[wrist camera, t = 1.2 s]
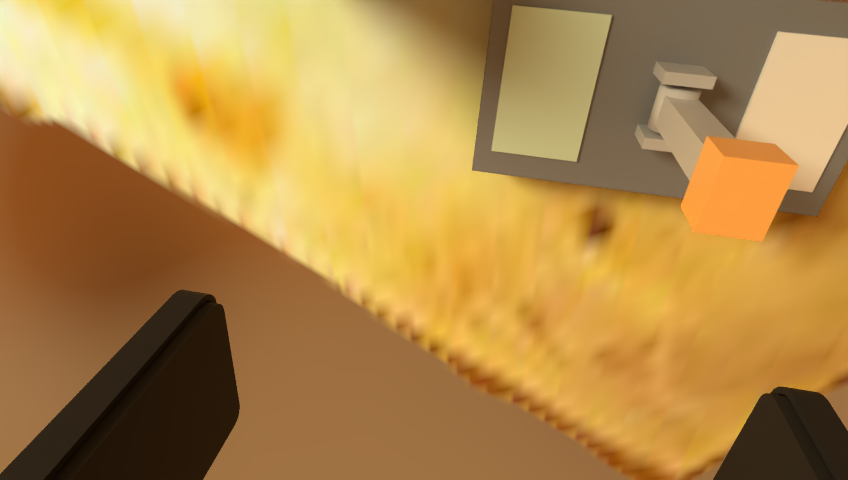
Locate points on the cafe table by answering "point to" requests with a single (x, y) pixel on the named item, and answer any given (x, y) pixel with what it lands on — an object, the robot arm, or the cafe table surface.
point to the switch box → (639, 82)
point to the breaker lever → (720, 168)
